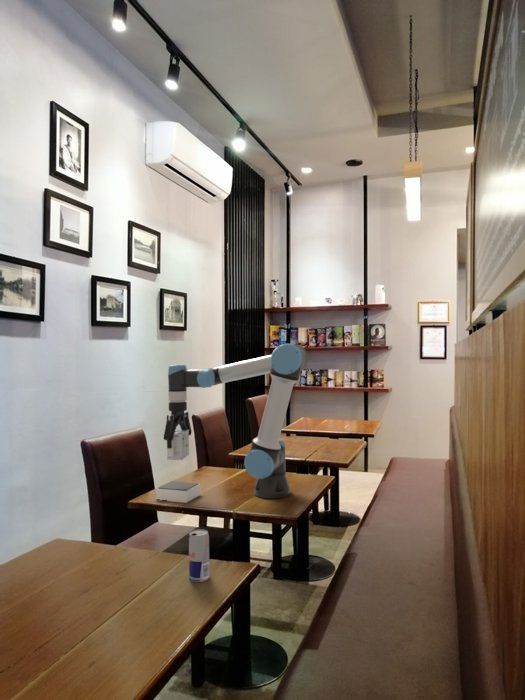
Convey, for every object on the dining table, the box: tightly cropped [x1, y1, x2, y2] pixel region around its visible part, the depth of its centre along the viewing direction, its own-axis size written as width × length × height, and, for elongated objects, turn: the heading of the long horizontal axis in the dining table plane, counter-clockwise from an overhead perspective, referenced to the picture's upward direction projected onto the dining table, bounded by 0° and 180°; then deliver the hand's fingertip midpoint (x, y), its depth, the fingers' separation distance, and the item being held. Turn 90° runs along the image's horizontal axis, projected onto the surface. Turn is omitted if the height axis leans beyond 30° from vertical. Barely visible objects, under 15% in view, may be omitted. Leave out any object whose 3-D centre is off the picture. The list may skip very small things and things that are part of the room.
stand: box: [155, 480, 201, 503], centre depth 210 cm, size 14×12×5 cm
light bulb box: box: [166, 429, 190, 461], centre depth 210 cm, size 11×7×11 cm, turn 174°
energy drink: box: [188, 528, 211, 583], centre depth 132 cm, size 5×5×12 cm
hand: (178, 453), depth 210 cm, fingers closed on light bulb box, 11 cm apart
